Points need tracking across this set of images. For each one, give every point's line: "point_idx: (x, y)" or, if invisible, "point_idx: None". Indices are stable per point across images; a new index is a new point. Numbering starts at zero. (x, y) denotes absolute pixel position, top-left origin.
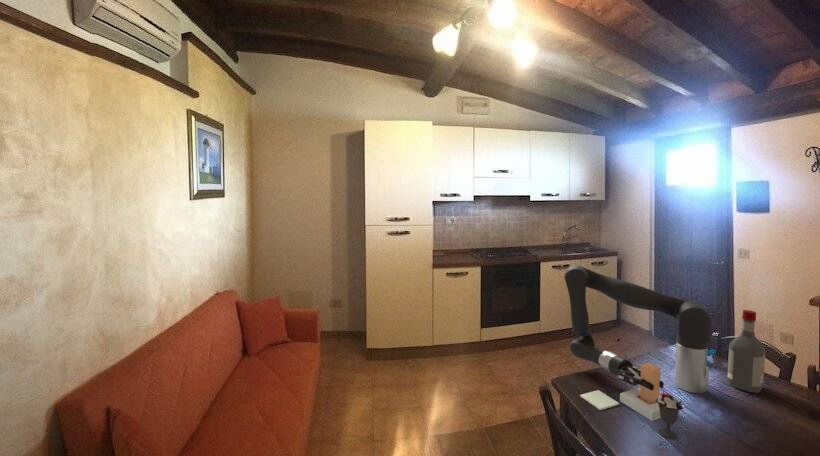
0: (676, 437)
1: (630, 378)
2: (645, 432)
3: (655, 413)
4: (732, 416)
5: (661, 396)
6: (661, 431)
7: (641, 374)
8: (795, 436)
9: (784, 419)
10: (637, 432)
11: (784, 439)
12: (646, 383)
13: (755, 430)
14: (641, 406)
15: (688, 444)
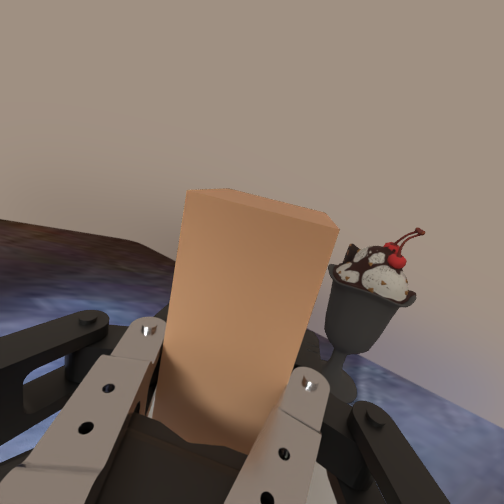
0: (322, 360)
1: (421, 476)
2: (407, 432)
3: None
4: (69, 283)
5: (400, 270)
6: (348, 389)
7: (299, 344)
8: (103, 243)
9: (26, 237)
10: (444, 454)
11: (128, 251)
12: (312, 348)
13: (123, 268)
14: None
15: None
